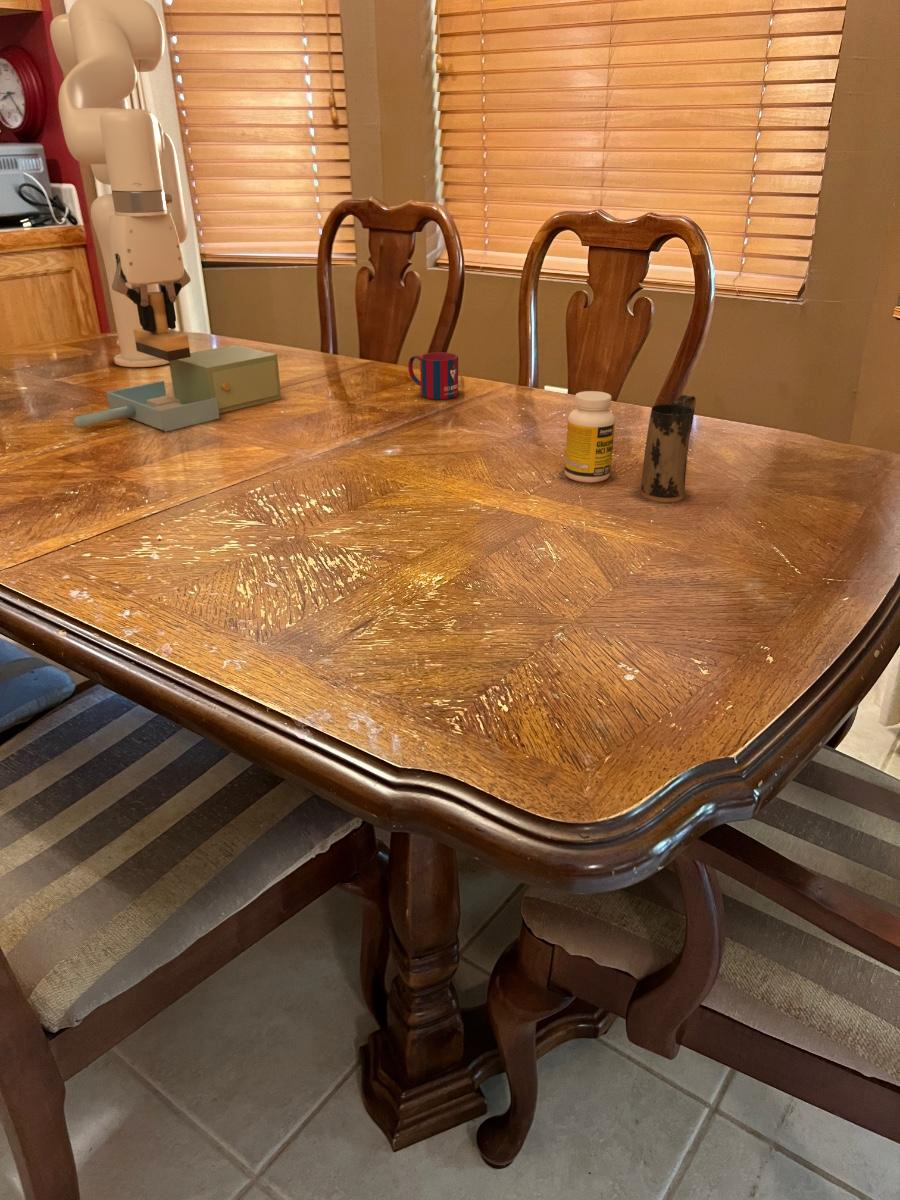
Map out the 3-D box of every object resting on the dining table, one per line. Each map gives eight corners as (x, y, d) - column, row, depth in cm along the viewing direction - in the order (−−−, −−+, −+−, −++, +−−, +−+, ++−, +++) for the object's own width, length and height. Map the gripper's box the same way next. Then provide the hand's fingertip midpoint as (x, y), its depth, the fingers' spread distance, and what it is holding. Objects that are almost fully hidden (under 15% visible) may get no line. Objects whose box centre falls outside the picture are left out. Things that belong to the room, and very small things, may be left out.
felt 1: (167, 395, 147) (168, 404, 148) (146, 399, 145) (147, 408, 145) (179, 399, 145) (181, 408, 146) (158, 404, 142) (159, 413, 143)
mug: (670, 505, 107) (682, 410, 101) (631, 495, 110) (641, 402, 104) (699, 488, 112) (712, 397, 107) (661, 479, 115) (672, 390, 110)
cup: (440, 401, 150) (440, 362, 147) (400, 392, 156) (398, 354, 153) (465, 394, 155) (466, 355, 151) (425, 385, 161) (424, 348, 157)
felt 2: (175, 402, 143) (176, 411, 144) (153, 407, 141) (154, 416, 141) (188, 406, 141) (189, 415, 142) (166, 411, 138) (167, 420, 139)
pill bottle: (599, 487, 113) (606, 404, 108) (556, 478, 116) (561, 397, 110) (617, 473, 117) (624, 393, 112) (575, 465, 120) (581, 387, 115)
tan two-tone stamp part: (136, 351, 142) (126, 290, 137) (158, 347, 145) (149, 287, 140) (168, 361, 136) (159, 298, 131) (190, 357, 139) (182, 295, 134)
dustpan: (165, 400, 152) (162, 380, 150) (219, 418, 142) (217, 398, 140) (52, 424, 139) (47, 403, 137) (102, 446, 128) (98, 424, 127)
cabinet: (175, 402, 151) (168, 357, 147) (242, 387, 160) (237, 344, 156) (217, 416, 143) (211, 369, 139) (285, 400, 152) (281, 355, 148)
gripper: (174, 199, 137) (191, 318, 146) (76, 205, 127) (100, 333, 135) (200, 202, 132) (216, 325, 141) (100, 208, 122) (124, 340, 131)
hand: (159, 328), depth 138 cm, fingers closed on tan two-tone stamp part, 2 cm apart
